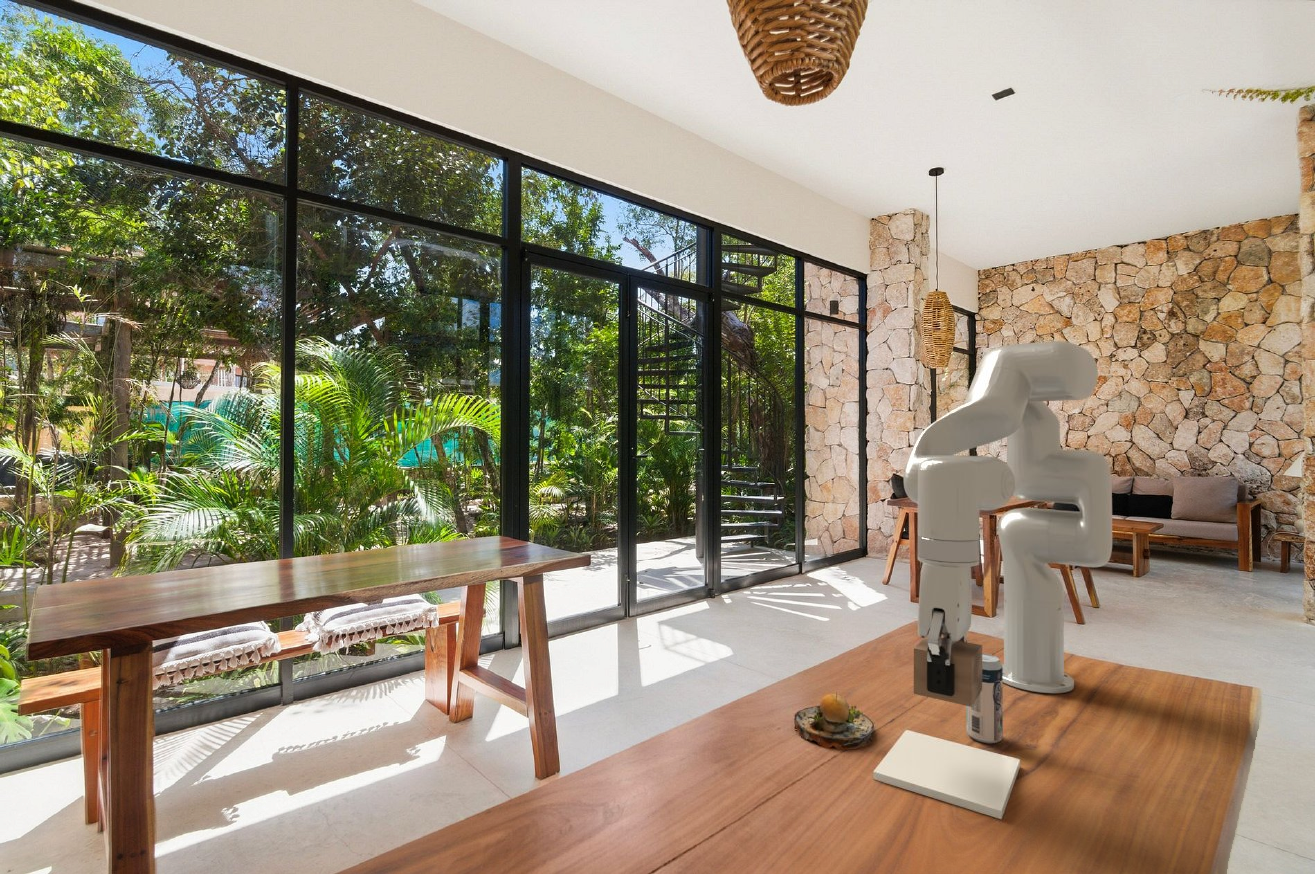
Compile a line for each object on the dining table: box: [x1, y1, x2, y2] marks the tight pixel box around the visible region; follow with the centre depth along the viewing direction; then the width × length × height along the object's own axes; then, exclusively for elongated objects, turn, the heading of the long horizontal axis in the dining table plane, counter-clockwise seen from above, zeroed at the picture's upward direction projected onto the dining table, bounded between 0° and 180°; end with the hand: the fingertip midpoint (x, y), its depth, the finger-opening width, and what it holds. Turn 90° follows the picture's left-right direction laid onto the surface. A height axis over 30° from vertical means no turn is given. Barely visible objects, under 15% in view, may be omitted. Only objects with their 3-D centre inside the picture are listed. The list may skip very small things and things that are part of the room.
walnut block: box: [913, 635, 983, 707], centre depth 86 cm, size 7×7×6 cm
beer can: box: [966, 652, 1004, 744], centre depth 96 cm, size 5×5×12 cm
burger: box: [793, 693, 875, 750], centre depth 99 cm, size 12×12×8 cm
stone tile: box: [872, 729, 1021, 820], centre depth 86 cm, size 15×15×1 cm
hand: (947, 683), depth 86 cm, fingers closed on walnut block, 7 cm apart
